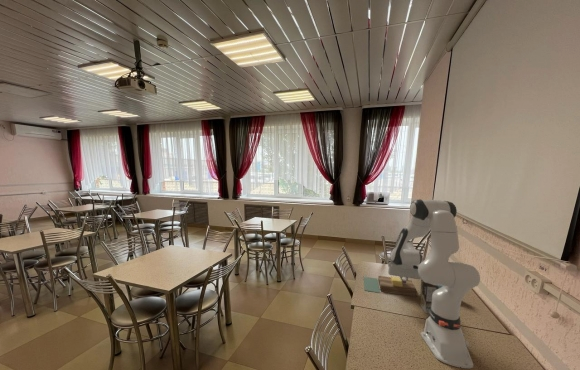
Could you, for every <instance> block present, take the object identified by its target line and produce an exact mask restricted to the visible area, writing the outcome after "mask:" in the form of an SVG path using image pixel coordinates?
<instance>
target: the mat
mask: <svg viewBox="0 0 580 370" xmlns="http://www.w3.org/2000/svg"><path fill="white" fill-rule="evenodd" d="M363 287H364V291H365V292H372V293H377V294H381V290H380V286H379V282H378V278H377V277H369V276H365V275H364V276H363Z"/></svg>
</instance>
